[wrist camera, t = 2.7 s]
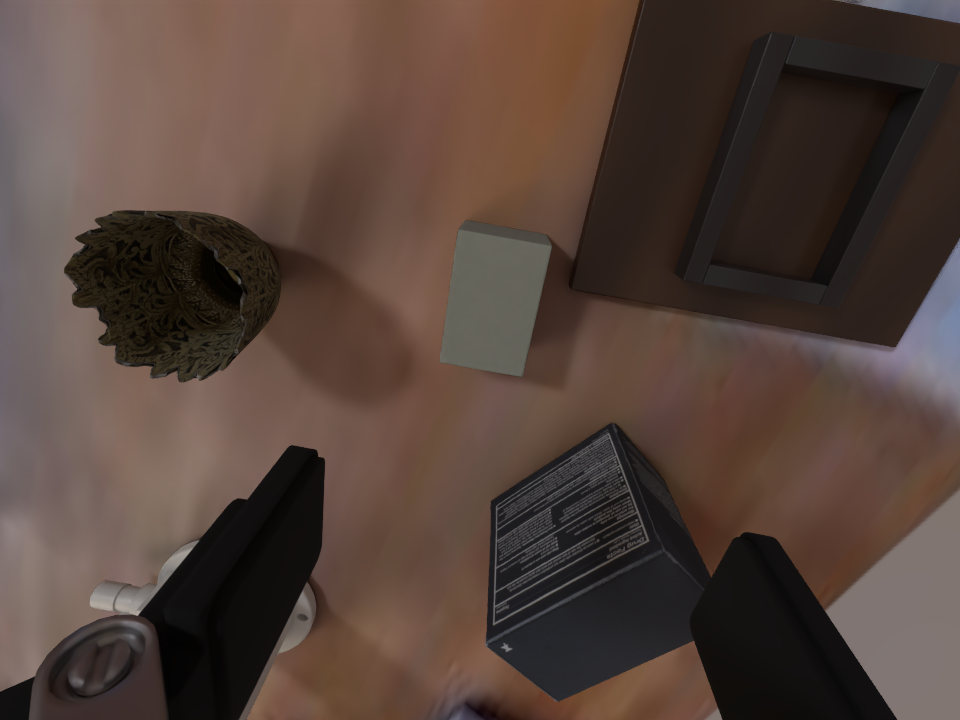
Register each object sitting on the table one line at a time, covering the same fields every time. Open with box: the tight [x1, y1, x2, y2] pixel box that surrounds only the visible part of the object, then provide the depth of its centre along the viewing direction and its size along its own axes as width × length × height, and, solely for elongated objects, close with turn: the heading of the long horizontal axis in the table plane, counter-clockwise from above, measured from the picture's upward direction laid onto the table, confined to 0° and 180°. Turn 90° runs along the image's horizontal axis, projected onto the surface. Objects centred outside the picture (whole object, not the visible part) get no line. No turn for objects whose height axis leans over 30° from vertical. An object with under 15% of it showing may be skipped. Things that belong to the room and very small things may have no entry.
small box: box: [485, 423, 711, 702], centre depth 27 cm, size 11×6×10 cm, turn 132°
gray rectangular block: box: [440, 220, 552, 377], centre depth 24 cm, size 4×7×4 cm, turn 171°
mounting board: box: [569, 0, 960, 347], centre depth 22 cm, size 18×14×2 cm
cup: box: [64, 210, 281, 382], centre depth 23 cm, size 7×7×8 cm
